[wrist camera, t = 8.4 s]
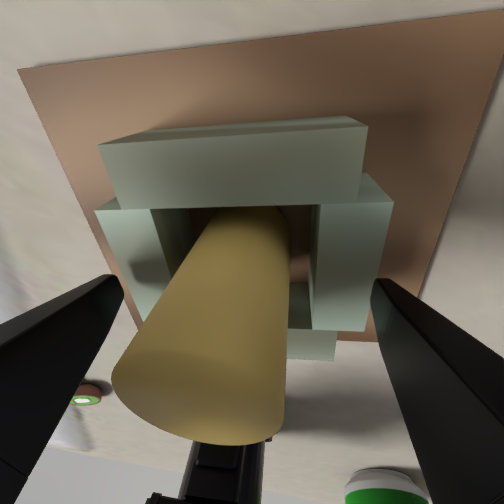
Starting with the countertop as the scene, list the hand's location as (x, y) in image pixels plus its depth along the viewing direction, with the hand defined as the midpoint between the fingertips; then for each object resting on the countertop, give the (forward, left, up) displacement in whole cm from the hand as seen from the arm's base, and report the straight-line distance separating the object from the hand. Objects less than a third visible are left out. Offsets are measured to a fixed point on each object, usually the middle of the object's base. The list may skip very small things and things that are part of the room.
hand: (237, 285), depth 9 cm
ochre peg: (0, 0, -4) cm, 4 cm away
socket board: (0, 0, -4) cm, 4 cm away
